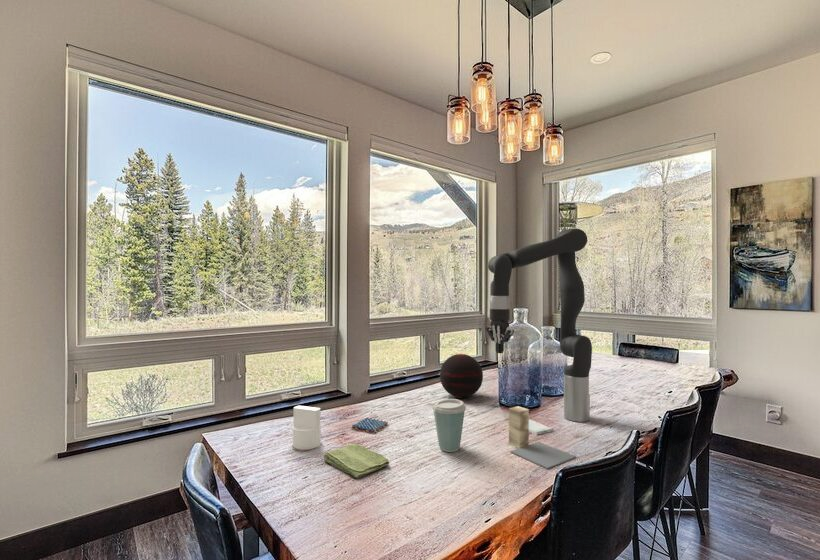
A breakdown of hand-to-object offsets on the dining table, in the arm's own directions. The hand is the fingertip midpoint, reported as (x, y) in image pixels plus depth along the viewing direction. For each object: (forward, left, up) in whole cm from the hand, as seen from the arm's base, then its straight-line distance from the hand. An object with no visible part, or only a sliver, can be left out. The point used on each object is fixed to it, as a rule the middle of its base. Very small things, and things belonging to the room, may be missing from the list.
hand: (499, 352), depth 158 cm
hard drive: (-7, +10, -28) cm, 30 cm away
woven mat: (+43, -24, -28) cm, 56 cm away
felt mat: (+10, +27, -27) cm, 40 cm away
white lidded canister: (+68, -22, -27) cm, 76 cm away
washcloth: (+61, 0, -28) cm, 67 cm away
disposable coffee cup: (+31, +7, -27) cm, 42 cm away
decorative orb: (-12, -35, -27) cm, 46 cm away
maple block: (+10, +18, -27) cm, 34 cm away
